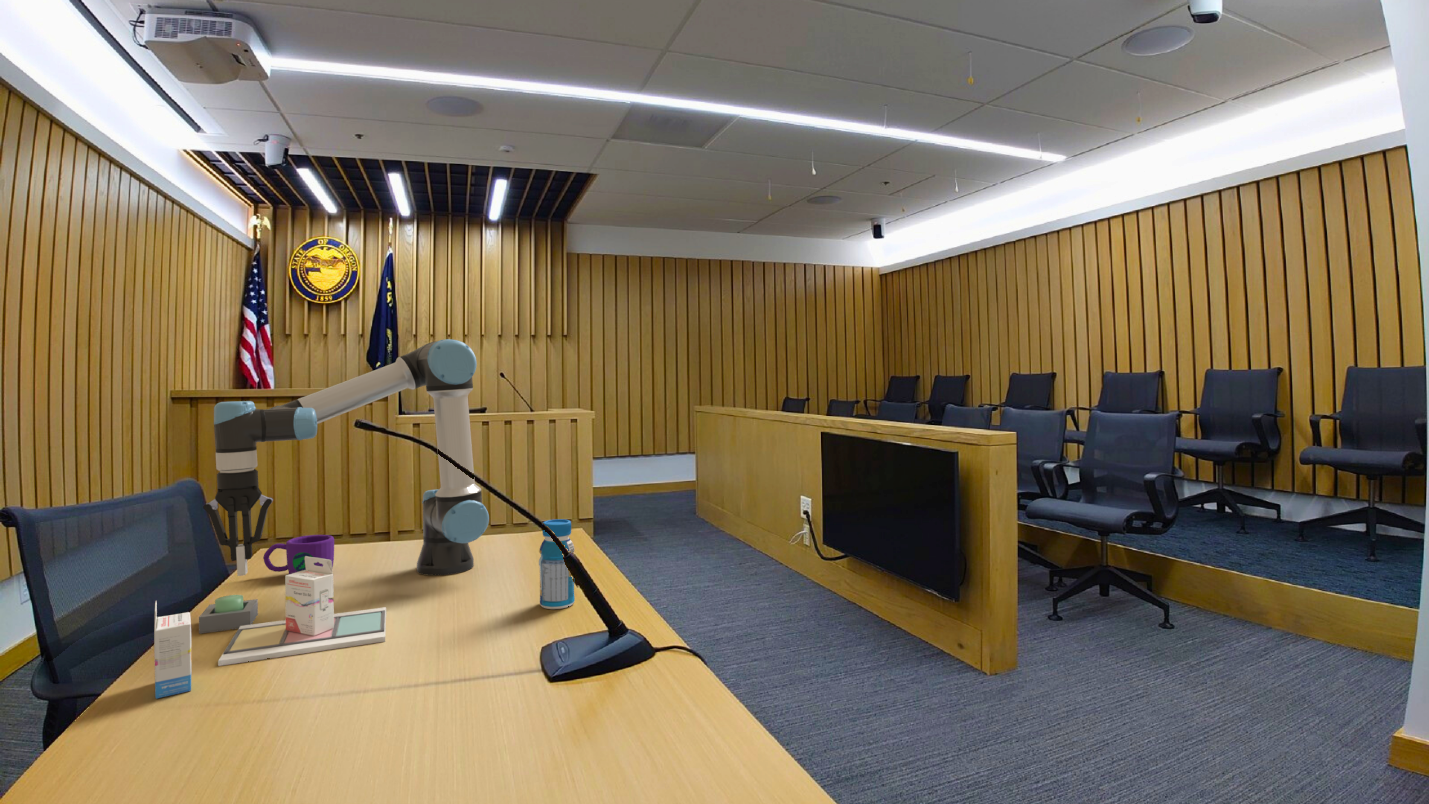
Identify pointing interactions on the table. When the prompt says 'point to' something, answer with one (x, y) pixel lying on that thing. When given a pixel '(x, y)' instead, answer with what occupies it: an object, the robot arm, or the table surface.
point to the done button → (229, 603)
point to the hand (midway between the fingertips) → (242, 573)
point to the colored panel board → (304, 637)
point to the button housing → (227, 618)
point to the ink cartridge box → (310, 598)
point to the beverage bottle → (555, 567)
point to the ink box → (172, 654)
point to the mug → (302, 552)
